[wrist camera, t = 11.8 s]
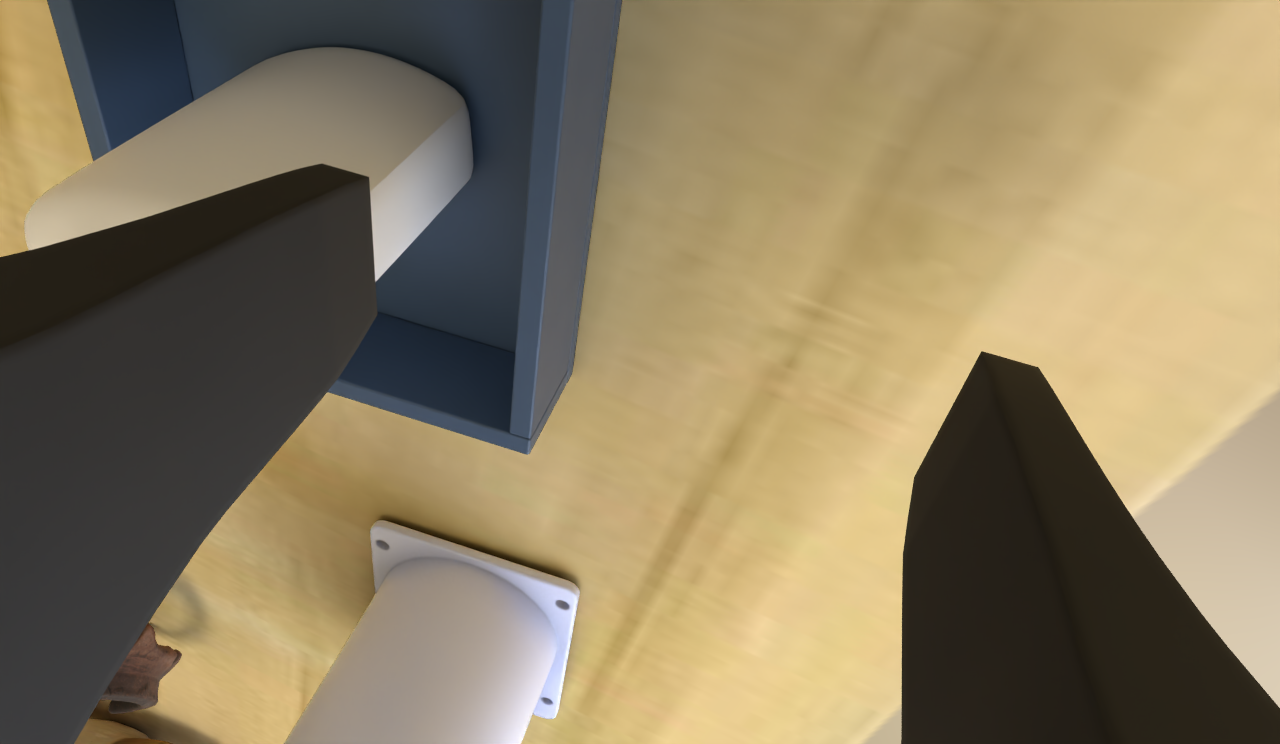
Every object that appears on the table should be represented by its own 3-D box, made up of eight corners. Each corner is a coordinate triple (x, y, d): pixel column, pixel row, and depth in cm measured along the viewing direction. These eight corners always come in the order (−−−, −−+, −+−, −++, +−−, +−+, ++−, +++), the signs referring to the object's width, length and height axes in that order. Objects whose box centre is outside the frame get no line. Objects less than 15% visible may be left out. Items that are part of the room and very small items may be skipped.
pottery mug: (119, 477, 36) (75, 687, 33) (246, 537, 45) (223, 710, 41) (-139, 510, 38) (-208, 715, 34) (31, 563, 46) (-10, 732, 42)
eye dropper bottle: (439, 243, 23) (115, 618, 14) (248, 116, 22) (-227, 429, 13) (507, 116, 20) (155, 484, 11) (291, -35, 19) (-276, 234, 10)
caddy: (572, 373, 25) (528, 456, 23) (221, 267, 27) (142, 334, 24) (641, -140, 17) (583, -102, 14) (115, -264, 18) (-27, -249, 15)
